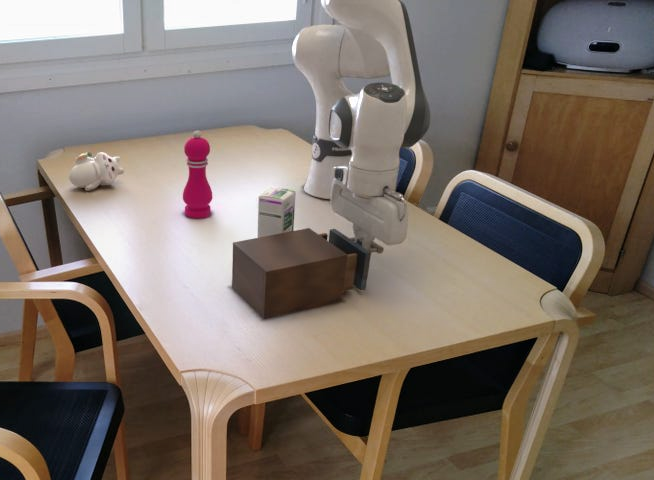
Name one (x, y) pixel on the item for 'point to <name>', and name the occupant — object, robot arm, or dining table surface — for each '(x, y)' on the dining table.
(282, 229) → the syrup box
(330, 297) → the cabinet
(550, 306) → the dining table surface
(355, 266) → the drawer
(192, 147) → the pepper mill
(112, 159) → the cat figurine
